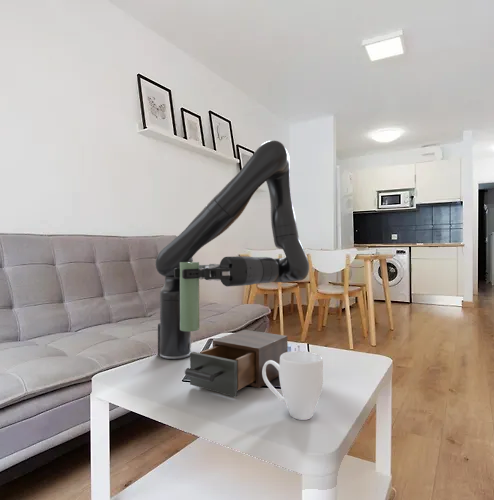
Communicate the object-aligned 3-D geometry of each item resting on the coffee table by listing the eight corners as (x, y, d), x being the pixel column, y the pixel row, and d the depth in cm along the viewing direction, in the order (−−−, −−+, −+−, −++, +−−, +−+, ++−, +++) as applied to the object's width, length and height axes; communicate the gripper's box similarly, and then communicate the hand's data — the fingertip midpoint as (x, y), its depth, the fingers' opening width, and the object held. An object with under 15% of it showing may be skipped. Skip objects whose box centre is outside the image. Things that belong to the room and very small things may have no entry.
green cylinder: (175, 329, 86) (175, 262, 86) (188, 326, 89) (188, 261, 89) (190, 332, 83) (190, 262, 83) (203, 328, 87) (203, 261, 87)
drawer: (220, 404, 73) (220, 368, 73) (175, 391, 80) (175, 357, 80) (266, 378, 89) (266, 347, 89) (224, 368, 96) (224, 340, 96)
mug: (325, 409, 73) (325, 353, 73) (319, 428, 66) (319, 365, 66) (268, 400, 78) (268, 347, 78) (256, 417, 70) (256, 358, 70)
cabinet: (259, 388, 85) (259, 348, 85) (212, 376, 92) (212, 340, 92) (287, 370, 97) (287, 335, 97) (244, 361, 105) (244, 329, 105)
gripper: (227, 255, 100) (167, 256, 91) (256, 256, 87) (190, 258, 79) (227, 283, 100) (168, 286, 91) (256, 288, 87) (190, 292, 79)
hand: (178, 273), depth 85 cm, fingers closed on green cylinder, 4 cm apart
